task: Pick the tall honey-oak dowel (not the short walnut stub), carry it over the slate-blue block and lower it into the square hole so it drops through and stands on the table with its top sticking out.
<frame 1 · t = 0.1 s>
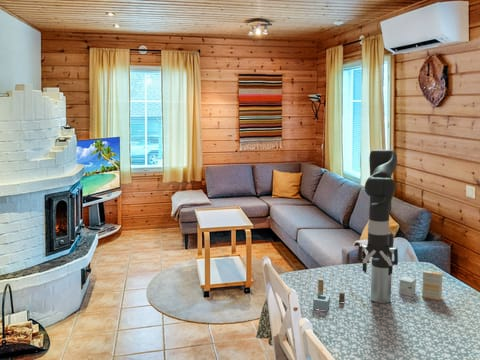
hand: (377, 273, 166), 29 cm above the table, fingers open, 8 cm apart
short dowel: (341, 302, 210), on the table
skincare box: (407, 293, 219), on the table
hole block: (321, 307, 204), on the table
long dowel: (320, 299, 213), on the table
supplement box: (431, 298, 214), on the table
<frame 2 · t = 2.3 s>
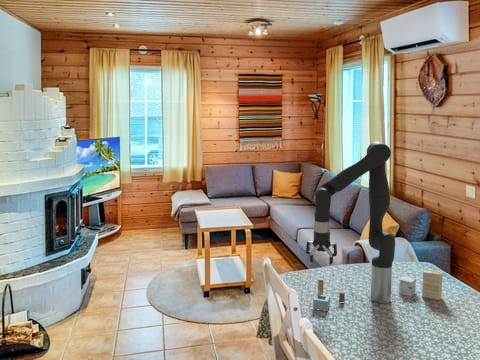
hand: (321, 263, 210), 18 cm above the table, fingers open, 8 cm apart
nothing on the table moved.
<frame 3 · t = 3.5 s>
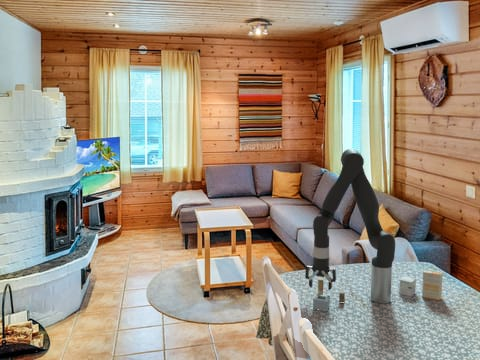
hand: (320, 288, 212), 6 cm above the table, fingers open, 8 cm apart
nothing on the table moved.
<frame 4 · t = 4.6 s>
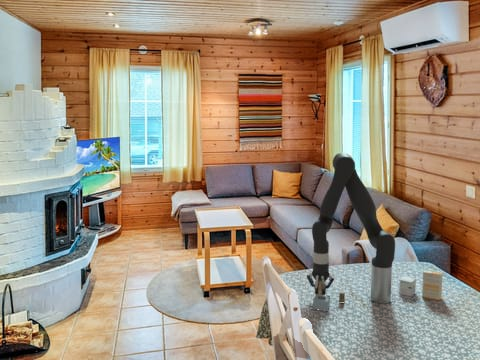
hand: (320, 295, 213), 2 cm above the table, fingers closed on long dowel, 2 cm apart
long dowel: (320, 299, 213), on the table, touching gripper
everything else where it was.
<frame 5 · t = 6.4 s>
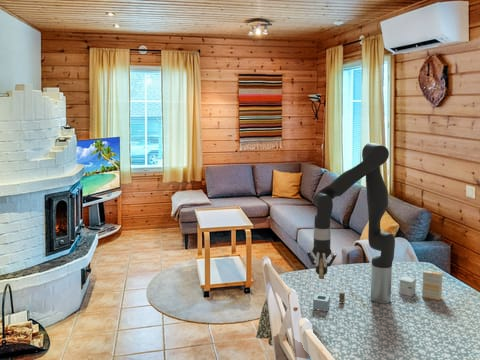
hand: (321, 273, 202), 16 cm above the table, fingers closed on long dowel, 2 cm apart
long dowel: (321, 278, 203), point 14 cm above the table, touching gripper
everything else where it was.
when the fingers open (6 cm above the table, at t = 8.1 s): long dowel drops 4 cm, resting in hole block.
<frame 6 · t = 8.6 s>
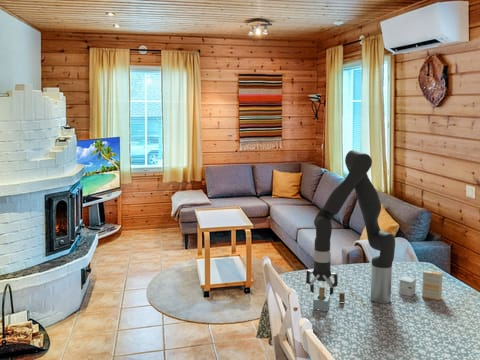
hand: (321, 293, 203), 7 cm above the table, fingers open, 8 cm apart
long dowel: (321, 307, 204), resting in hole block
everything else where it was.
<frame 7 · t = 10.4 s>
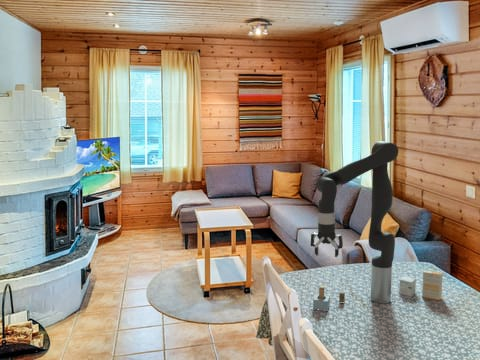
hand: (326, 255, 203), 24 cm above the table, fingers open, 8 cm apart
nothing on the table moved.
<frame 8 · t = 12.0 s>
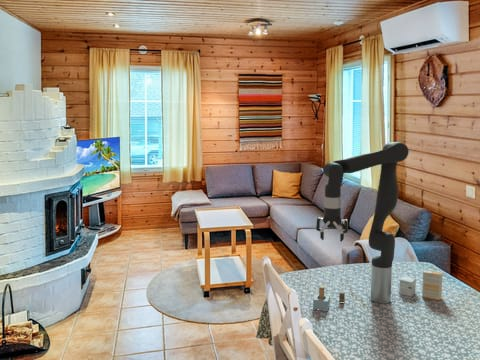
hand: (331, 240, 206), 30 cm above the table, fingers open, 8 cm apart
nothing on the table moved.
at the end: long dowel 0.1 cm off-centre on the hole block, point 0.0 cm above the hole block's base; long dowel tilted 0°; the gripper is holding nothing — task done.
